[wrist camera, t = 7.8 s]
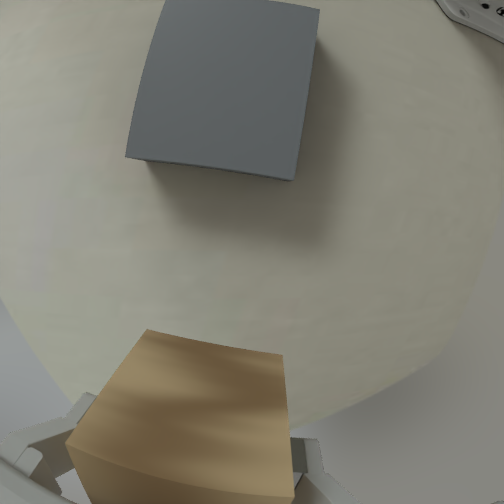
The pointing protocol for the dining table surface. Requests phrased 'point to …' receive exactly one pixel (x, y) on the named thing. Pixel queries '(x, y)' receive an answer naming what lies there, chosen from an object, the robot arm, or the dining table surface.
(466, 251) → the dining table surface
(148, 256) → the dining table surface
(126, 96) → the dining table surface
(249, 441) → the oak block
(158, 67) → the slate base
